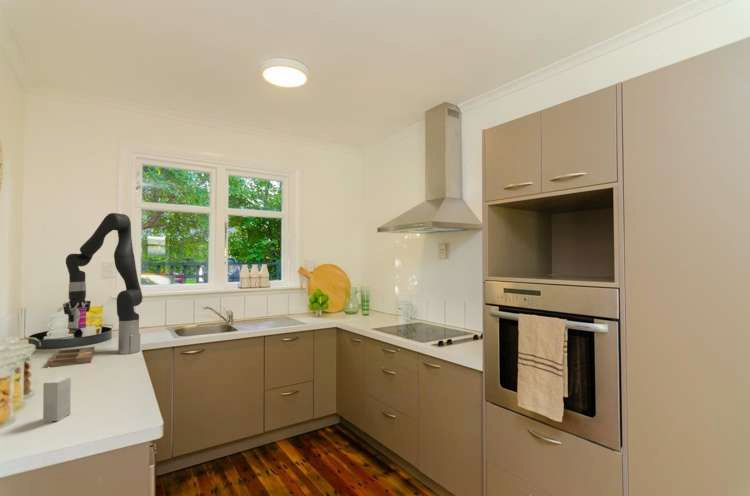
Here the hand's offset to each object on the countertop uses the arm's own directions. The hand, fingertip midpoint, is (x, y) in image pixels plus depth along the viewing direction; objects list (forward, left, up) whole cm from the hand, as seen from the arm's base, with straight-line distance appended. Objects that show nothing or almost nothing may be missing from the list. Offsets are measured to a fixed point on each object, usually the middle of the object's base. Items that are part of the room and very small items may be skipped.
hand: (77, 320), depth 213 cm
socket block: (-16, +16, -16) cm, 28 cm away
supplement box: (0, 0, -4) cm, 4 cm away
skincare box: (-82, +75, -16) cm, 112 cm away
